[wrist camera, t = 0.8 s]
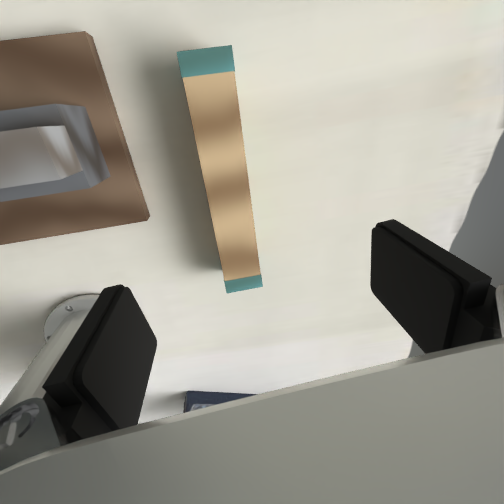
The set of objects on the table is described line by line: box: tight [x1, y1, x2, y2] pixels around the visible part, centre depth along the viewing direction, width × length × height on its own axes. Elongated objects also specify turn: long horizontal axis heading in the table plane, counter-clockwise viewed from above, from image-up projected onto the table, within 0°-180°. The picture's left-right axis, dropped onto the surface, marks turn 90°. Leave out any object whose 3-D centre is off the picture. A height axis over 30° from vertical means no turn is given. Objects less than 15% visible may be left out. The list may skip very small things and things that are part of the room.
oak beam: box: [177, 45, 263, 293], centre depth 27 cm, size 22×4×5 cm, turn 7°
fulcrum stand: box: [0, 31, 150, 245], centre depth 21 cm, size 16×16×10 cm
